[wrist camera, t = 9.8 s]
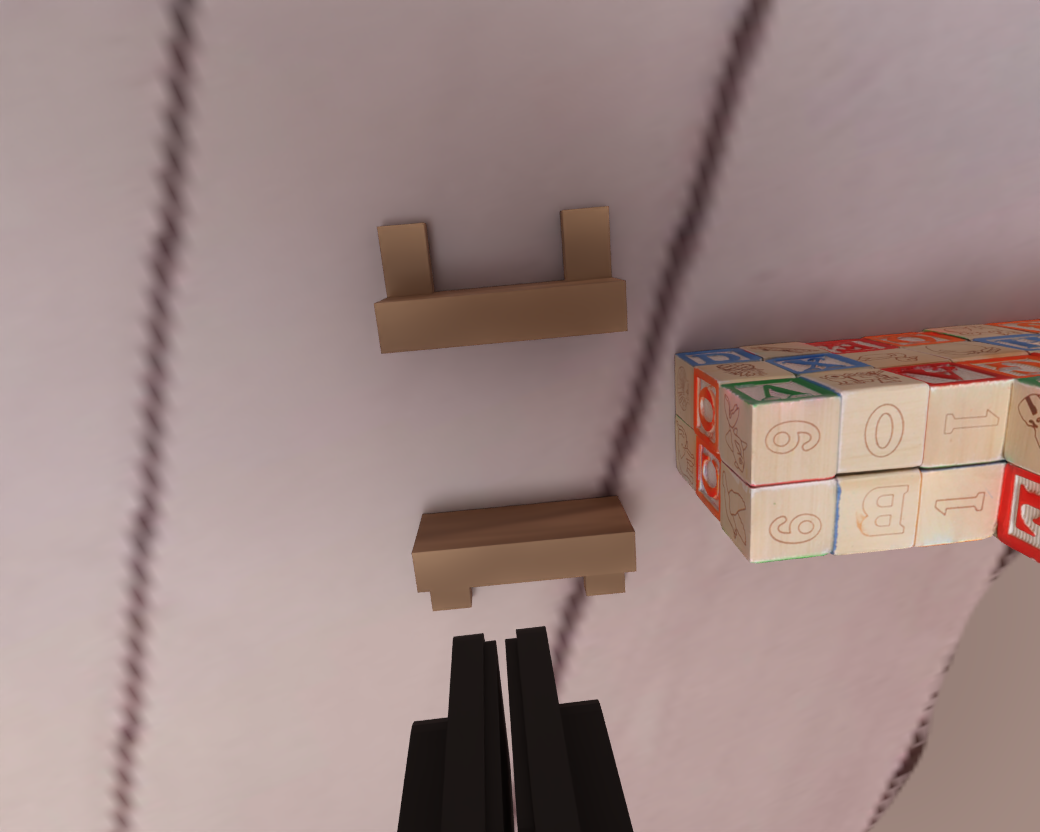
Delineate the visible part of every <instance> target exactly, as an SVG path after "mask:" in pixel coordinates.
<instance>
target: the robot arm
mask: <svg viewBox="0 0 1040 832" xmlns="http://www.w3.org/2000/svg"><path fill="white" fill-rule="evenodd" d="M516 634H517V638H512V639H505V645H506V660H507V676H508V691H509V706H510V721H511V736H512V751H513V766H514V781H515V797H516V812H517V826H518V832H633V828H632V824H631V821H630V817H629V813H628V809H627V805H626V801H625V798H624V794H623V790H622V786H621V782H620V778H619V774H618V771H617V767H616V763H615V759H614V755H613V751H612V748H611V744H610V740H609V736H608V732H607V728H606V725H605V721H604V717H603V713H602V709H601V706H600V703H599V701H598V699H597V700H588V701H580V702H572V703H564V704H559V702H558V696H557V690H556V684H555V679H554V673H553V667H552V661H551V655H550V650H549V644H548V638H547V632H546V627H545V626H542V627H533V628H525V629H516ZM397 832H514V816H513V800H512V783H511V769H510V758H509V749H508V741H507V732H506V723H505V715H504V706H503V697H502V689H501V680H500V671H499V663H498V654H497V645H496V640H494V641H486V642H485V639H484V634H483V633H482V634H473V635H464V636H456V637H454V638H453V646H452V662H451V678H450V694H449V710H448V718H439V719H431V720H423V721H415V722H414V723H413V725H412V729H411V735H410V742H409V750H408V757H407V764H406V772H405V779H404V786H403V794H402V801H401V808H400V816H399V823H398V830H397Z"/></svg>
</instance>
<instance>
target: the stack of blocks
mask: <svg viewBox="0 0 1040 832" xmlns="http://www.w3.org/2000/svg"><path fill="white" fill-rule="evenodd" d="M675 397H676V416H675V441H676V462H677V469H678V471H679V473H680V474H681V475H682V477H683V478H684V479H685V480H686V481H687V482H688V483H689V485H690V486H691V487H692V488H693V489H694V490H695V491H696V494H697V496H698V497H699V498H700V499H701V501H702V502H703V503H704V504H705V505H706V506H707V508H708V509H709V510H710V511H711V513H712V514H713V515H714V516H715V517H716V518H717V519H718V520H719V521H720V523H721V526H722V529H723V530H724V531H725V532H726V534H727V535H728V536H729V537H730V539H731V540H732V541H733V542H734V544H735V545H736V546H737V547H738V549H739V550H740V551H741V552H742V554H743V555H744V556H745V557H746V559H747V560H748V561H750V562H751V563H764V562H771V561H780V560H788V559H798V558H808V557H815V556H824V555H826V554H828V553H831V554H833V555H846V554H855V553H866V552H875V551H884V550H892V549H903V548H909V547H912V546H916V547H927V546H935V545H944V544H952V543H959V542H967V541H975V540H982V539H985V538H988V537H990V536H992V535H994V536H995V537H997V538H998V539H999V540H1000V541H1001V542H1003V543H1004V544H1006V545H1008V546H1009V547H1011V548H1012V549H1014V550H1017V551H1019V552H1021V553H1022V554H1024V555H1026V556H1028V557H1029V558H1031V559H1033V560H1034V561H1036V562H1038V563H1040V319H1036V320H1024V321H1013V322H1002V323H989V324H978V325H963V326H952V327H941V328H930V329H924V330H923V331H921V332H917V333H916V332H910V333H901V334H890V335H880V336H868V337H863V338H861V339H848V340H836V341H826V342H815V343H801V342H788V343H776V344H765V345H754V346H744V347H739V348H730V349H718V350H707V351H697V352H687V353H678V354H675Z"/></svg>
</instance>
